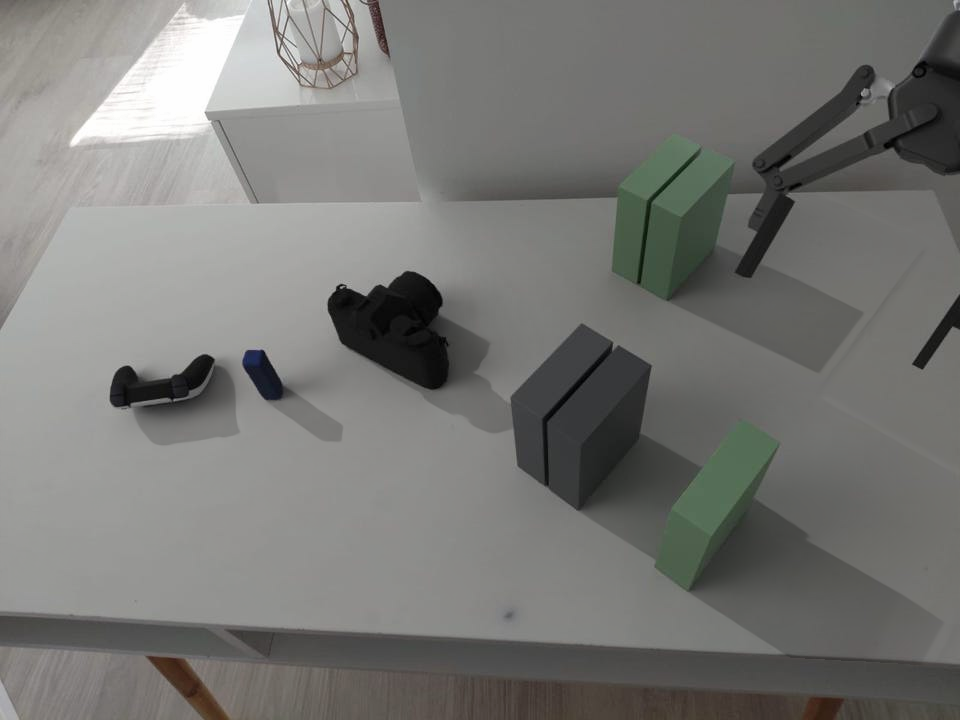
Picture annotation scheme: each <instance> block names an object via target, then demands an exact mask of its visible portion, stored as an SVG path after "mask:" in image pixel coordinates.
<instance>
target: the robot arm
mask: <svg viewBox="0 0 960 720" xmlns="http://www.w3.org/2000/svg"><path fill="white" fill-rule="evenodd" d="M953 6H954V11H952V12H950V13H948V14H946V15H944V16H943V18H942V19H941V21H940V23H939V24H938V26H937V28H936V29H935V31H934V33H933V34H932V36H931V37H930V39H929V41H928V42H927V44H926V46H925V48H924V49H923V51H922V53H921V54H920V56H919V58H918V59H917V61H916V62H915V64H914V66H913V67H912V69H911V71H910V72H909V74H908V75H907V76H906V77H904V78H903V79H902V80H901V81H899V82H898V83H895V82H894V81H892V80H890V79H888V78H886V77H884V76H882V75H880V74H878V73H876V71H875V70H874V67H873V66H872V65H870V64H862V65H861V66H859V67H858V68H857V69H856V70H855V71H854V72H853V73H852V75H851V76H850V78H849V80H848V81H847V82H846V84H845V85H844V87H842V90H840V92H838V94H836V95H834V96H833V97H832V98H830V100H828V101H827V102H826V103H824V104H823V105H822V106H820V107H819V108H817V110H815V111H814V112H813V113H811V114H810V115H809V116H807V117H806V118H804V120H802V121H801V122H799V123H798V124H797V125H796V126H794V127H793V128H792V129H790V130H789V131H788V132H787V133H785V134H784V135H783V136H781V137H780V138H779V139H778V140H776V141H775V142H774V143H772V144H771V145H770V146H768V147H767V148H766V149H764V150H763V151H761V152H760V154H758V155H757V156H755V157H754V159H752V162H751V167H752V170H754V171H755V172H756V173H757V175H759V176H760V178H762V179H763V180H764V182H765V190H764V192H763V194H762V196H761V197H760V199H759V201H758V203H757V204H756V206H755V208H754V210H753V211H752V213H751V214H750V217H749V219H748V222H747V228H748V229H750V230H753V231H755V232H756V234H755V235H754V237H753V239H752V240H751V242H750V244H749V246H748V247H747V249H746V251H745V252H744V254H743V256H742V258H741V259H740V262H739V263H738V265H737V266H736V269H735V270H734V274H736V275H738V276H739V277H741V278H746V279H752V277H753V275H754V274H755V272H756V271H757V269H758V267H759V266H760V264H761V262H762V260H763V259H764V257H765V255H766V254H767V252H768V250H769V248H770V247H771V245H772V243H773V241H774V239H775V238H776V236H777V234H778V232H779V231H780V230H781V227H782V225H783V224H784V222H785V221H786V219H787V218H788V215H789V213H790V212H791V210H792V208H793V207H794V205H795V203H796V201H795V200H794V199H792V198H791V197H790V196H788V195H789V193H790V192H792V191H795V190H797V189H799V188H802V187H804V186H806V185H809V184H811V183H814V182H815V181H818V180H820V179H823V178H825V177H827V176H829V175H831V174H833V173H837V172H838V171H841V170H843V169H845V168H847V167H850V166H852V165H855V164H857V163H859V162H861V161H864V160H865V159H867V158H870V157H873V156H877V155H880V154H883V153H885V152H887V151H890V150H892V149H893V150H894V152H895V154H896V155H897V156H898V157H899V159H900V160H902V161H904V162H905V161H906V162H907V163H911V164H916V165H923V166H925V167H926V168H927V169H929V170H930V171H932V172H933V173H934V174H938V175H939V176H942V177H946V176H957V175H960V0H953ZM879 100H886V103H887V113H888V120H887V121H884V122H882V123H880V124H878V125H875V126H874V127H872V128H869V129H868V130H866V131H865V132H863V133H862V134H860V135H858V136H856V137H854V138H851V139H849V140H847V141H845V142H842V143H840V144H838V145H836V146H834V147H832V148H829V149H828V150H827V149H826V150H825V151H823V152H820V153H818V154H816V155H813V156H812V157H809V158H807V159H805V160H803V161H801V162H798V163H796V164H794V165H792V166H790V167H787V168H785V169H783V170H781V168H782V167H784V166H785V165H786V164H788V163H789V162H791V161H792V160H793V159H794V158H796V157H797V156H798V155H800V154H801V153H802V152H804V151H806V150H807V149H808V148H809V147H811V146H812V145H813V144H815V143H816V142H817V141H818V140H820V139H821V138H823V137H824V136H825V135H827V134H828V133H829V132H831V131H832V130H833V129H835V128H836V127H837V126H838V125H840V124H841V123H842V122H844V121H845V120H846V119H848V118H850V117H851V116H852V115H853V114H854V113H855V112H856V111H857V110H858V109H859V108H861V107H865V108H866V107H870V106H872V105H873V104H875V103H876V102H877V101H879ZM952 328H955V329H956V330H959V331H960V293H959V294H958V296H957V297H956V299H954V301H953V303H952V305H951V306H950V307H949V309H948V310H947V312H946V313H945V314H944V316H943V318H942V319H941V321H940V322H939V323H938V325H937V326H936V328H935V329H934V331H933V332H932V333H931V335H930V336H929V338H928V340H927V341H926V342H925V344H924V345H923V347H922V348H921V350H920V352H918V354H917V356H916V357H915V359H914V360H913V362H912V363H911V365H912V366H914V367H916V368H917V369H920V370H922V371H923V370H924V369H925V367H926V366H927V364H928V363H929V361H930V360H931V359H932V357H933V356H934V355H935V353H936V351H937V350H938V348H939V347H940V346H941V344H942V343H943V341H944V340H945V338H946V337H947V336H948V335H949V333H950V331H951V330H952Z"/></svg>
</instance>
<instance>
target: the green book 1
mask: <svg viewBox="0 0 960 720" xmlns="http://www.w3.org/2000/svg"><path fill="white" fill-rule="evenodd" d="M702 148H703V146H702V145H700V144H698V143H695V142H693V141H691V140H689V139H686V138H684V137H682V136H679V135H678V134H675V133H673V134H671V135H670V136H669V138H667V139H666V140H665V141H664V142H663V143H662V144H661V145H660V146H659V147H658V148H657V149H656V150H654V152H653V153H652V154H650V155H649V157H647V158H646V159H645V160H644V161H643V162H642V163H641V164H640V165H639V166H638V167H637V168H636V169H635V170H634V171H633V172H631V174H629V176H627V177H626V178H625V179H624V181H622V182H621V183H620V184H619V185H618V188H617V199H616V201H617V202H616V211H615V215H616V216H615V224H614V235H613V248H612V259H611V261H612V262H611V271H612V272H614V273H616V274H617V275H618V276H620V277H623V278H624V279H626V280H628V281H630V282H632V283H633V284H635V285H637V284H638V283H639V282H641V278H642V271H643V263H644V256H645V249H646V241H647V234H648V226H649V219H650V211H651V204H652V202H653V201H654V200H655V199H656V198H657V197H658V196H659V195H660V194H661V193H662V192H663V191H664V190H665V189H666V188H667V187H668V186H669V185H670V184H671V183H672V182H673V181H674V180H675V179H676V178H677V177H678V176H679V175H680V174H681V173H682V172H683V171H684V170H685V169H686V168H687V167H688V166H689V165H690V164H691V163H692V162H693V161H694V160H695V159H696V158H697V157H698V156H699V155H700V154H701V153H702V152H701V151H702Z"/></svg>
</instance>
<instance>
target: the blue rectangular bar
mask: <svg viewBox="0 0 960 720" xmlns="http://www.w3.org/2000/svg"><path fill="white" fill-rule="evenodd" d="M241 365H242V368H243V369H244V371H245V373H246V374H247V375H248V378H249V379H250V380H251V382H252V383H253V385H254V387H255V388H256V390H257V392H258V393H259V395H260V396H261V397H262V398H263V399H264V400H265V401H268V400H271V401H276V400H279V399H280V398H282V394H283V392H284V391H283V390H284V389H283V387H284V384H283V382H282V380H281V378H280V376H279V374H278V372H277V371H276V369H275V368H274V366H273V364H272V363H271V360H270V359H269V357H268V355H267V353H266V351H265V350H264V349H247V350H245V352H244V355H243V358H242V359H241Z"/></svg>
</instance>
